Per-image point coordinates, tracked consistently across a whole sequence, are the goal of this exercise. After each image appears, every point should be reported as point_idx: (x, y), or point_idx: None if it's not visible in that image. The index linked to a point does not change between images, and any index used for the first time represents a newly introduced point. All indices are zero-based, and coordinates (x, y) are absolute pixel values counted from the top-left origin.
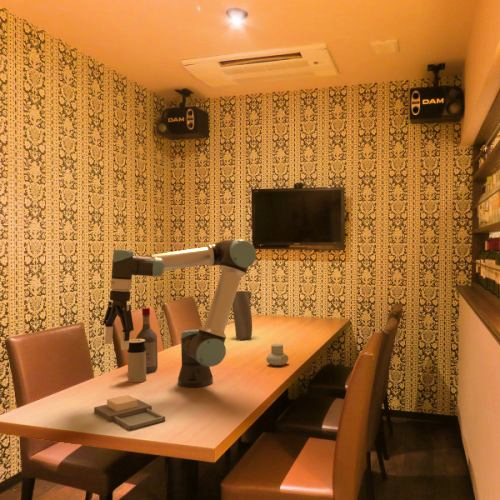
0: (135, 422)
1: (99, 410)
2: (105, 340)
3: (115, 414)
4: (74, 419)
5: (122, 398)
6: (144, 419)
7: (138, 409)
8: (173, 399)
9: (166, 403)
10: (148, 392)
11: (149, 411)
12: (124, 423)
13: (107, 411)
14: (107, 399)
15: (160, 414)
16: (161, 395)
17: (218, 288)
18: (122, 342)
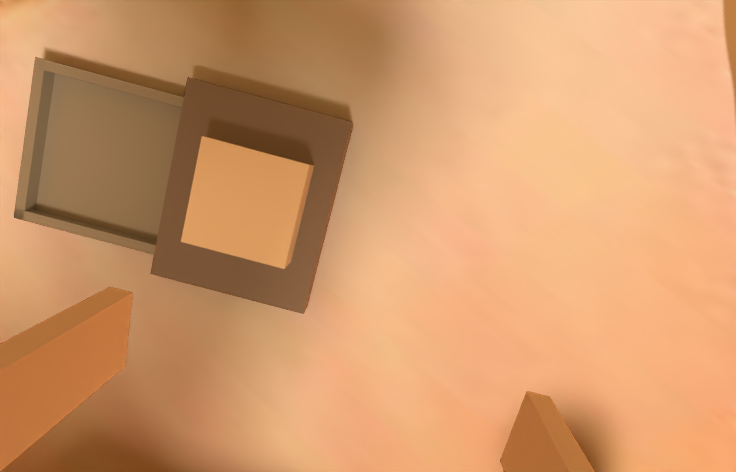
0: (96, 129)
1: (294, 106)
2: (544, 419)
3: (186, 108)
4: (355, 19)
5: (255, 215)
6: (95, 175)
7: (162, 212)
8: (210, 424)
9: (194, 372)
10: (376, 440)
11: (130, 237)
12: (88, 71)
13: (250, 115)
14: (304, 164)
15: (51, 227)
16: (294, 437)
17: None
18: (38, 326)
